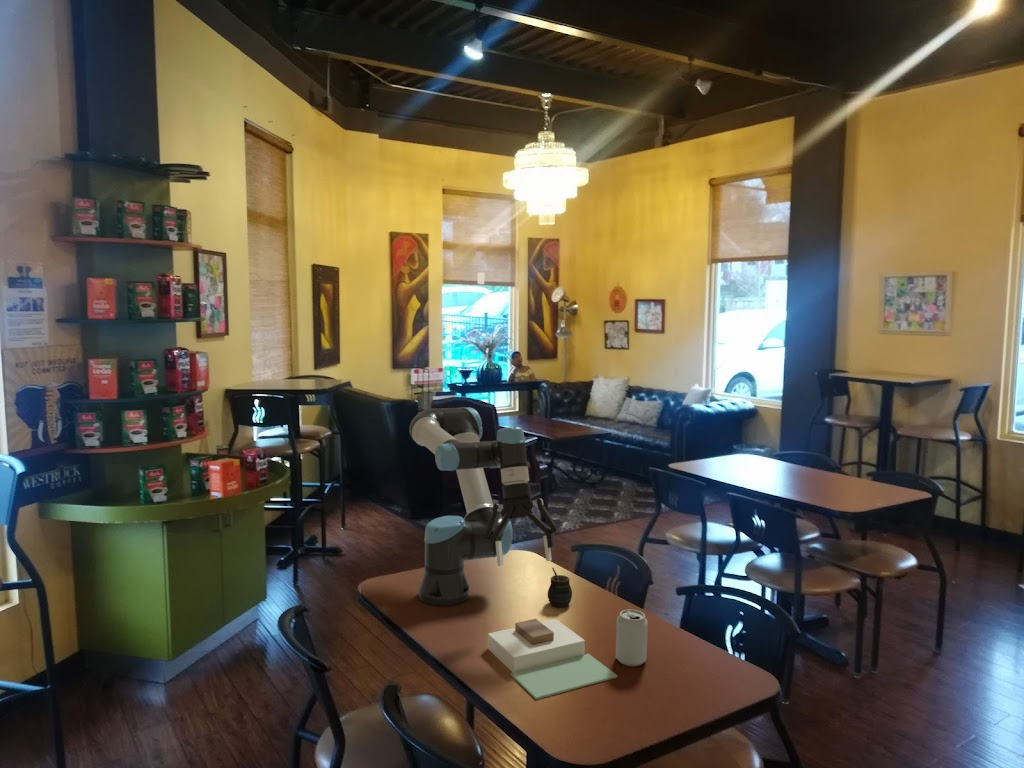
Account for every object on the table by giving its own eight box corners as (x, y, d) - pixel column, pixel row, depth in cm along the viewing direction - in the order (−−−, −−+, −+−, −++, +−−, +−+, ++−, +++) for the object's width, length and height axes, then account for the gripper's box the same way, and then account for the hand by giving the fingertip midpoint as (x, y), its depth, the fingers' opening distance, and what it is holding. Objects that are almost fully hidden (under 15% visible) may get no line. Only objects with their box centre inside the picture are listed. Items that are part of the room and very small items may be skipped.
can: (627, 670, 173) (629, 622, 171) (609, 657, 179) (610, 610, 178) (652, 664, 176) (654, 616, 175) (633, 651, 183) (635, 605, 182)
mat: (510, 675, 170) (510, 673, 170) (588, 655, 180) (588, 653, 180) (535, 699, 159) (536, 697, 159) (617, 677, 169) (617, 675, 169)
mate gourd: (559, 611, 206) (560, 577, 205) (541, 603, 212) (541, 570, 211) (577, 605, 211) (577, 571, 210) (558, 597, 216) (559, 565, 215)
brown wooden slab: (515, 630, 184) (515, 623, 184) (535, 626, 187) (535, 618, 187) (532, 645, 176) (532, 637, 176) (553, 640, 179) (553, 632, 179)
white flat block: (487, 648, 183) (488, 633, 182) (555, 633, 192) (555, 618, 192) (513, 673, 170) (514, 657, 170) (584, 655, 180) (584, 640, 179)
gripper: (468, 489, 197) (476, 568, 193) (556, 477, 190) (566, 559, 186) (478, 489, 204) (486, 566, 200) (563, 478, 197) (573, 557, 193)
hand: (524, 563), depth 193 cm, fingers open, 13 cm apart
